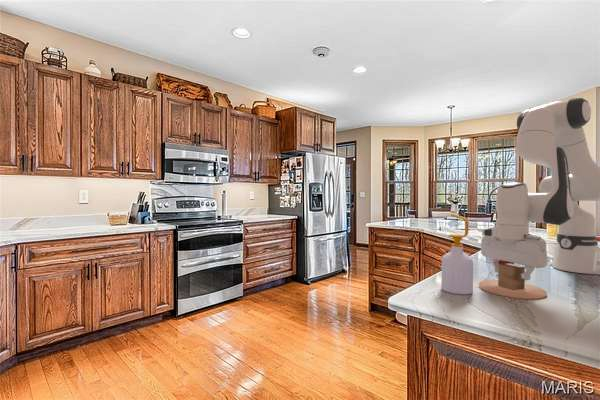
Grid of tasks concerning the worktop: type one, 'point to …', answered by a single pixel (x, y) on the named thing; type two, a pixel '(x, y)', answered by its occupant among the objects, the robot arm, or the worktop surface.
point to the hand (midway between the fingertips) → (511, 275)
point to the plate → (525, 293)
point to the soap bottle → (457, 266)
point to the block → (511, 276)
